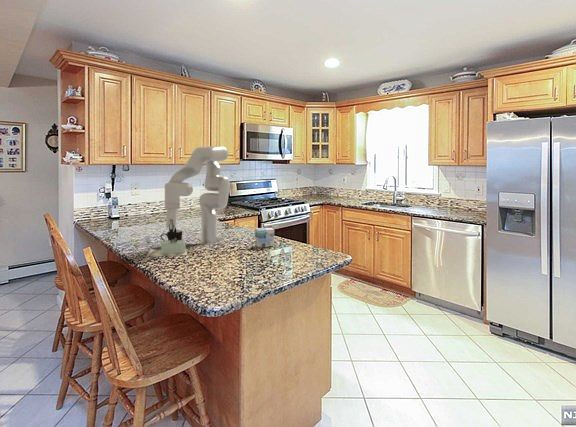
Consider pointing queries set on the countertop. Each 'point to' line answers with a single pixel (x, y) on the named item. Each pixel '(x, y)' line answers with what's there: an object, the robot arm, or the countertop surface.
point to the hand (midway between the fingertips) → (172, 237)
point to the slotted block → (173, 247)
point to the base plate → (158, 253)
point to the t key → (148, 242)
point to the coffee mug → (177, 237)
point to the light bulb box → (264, 237)
